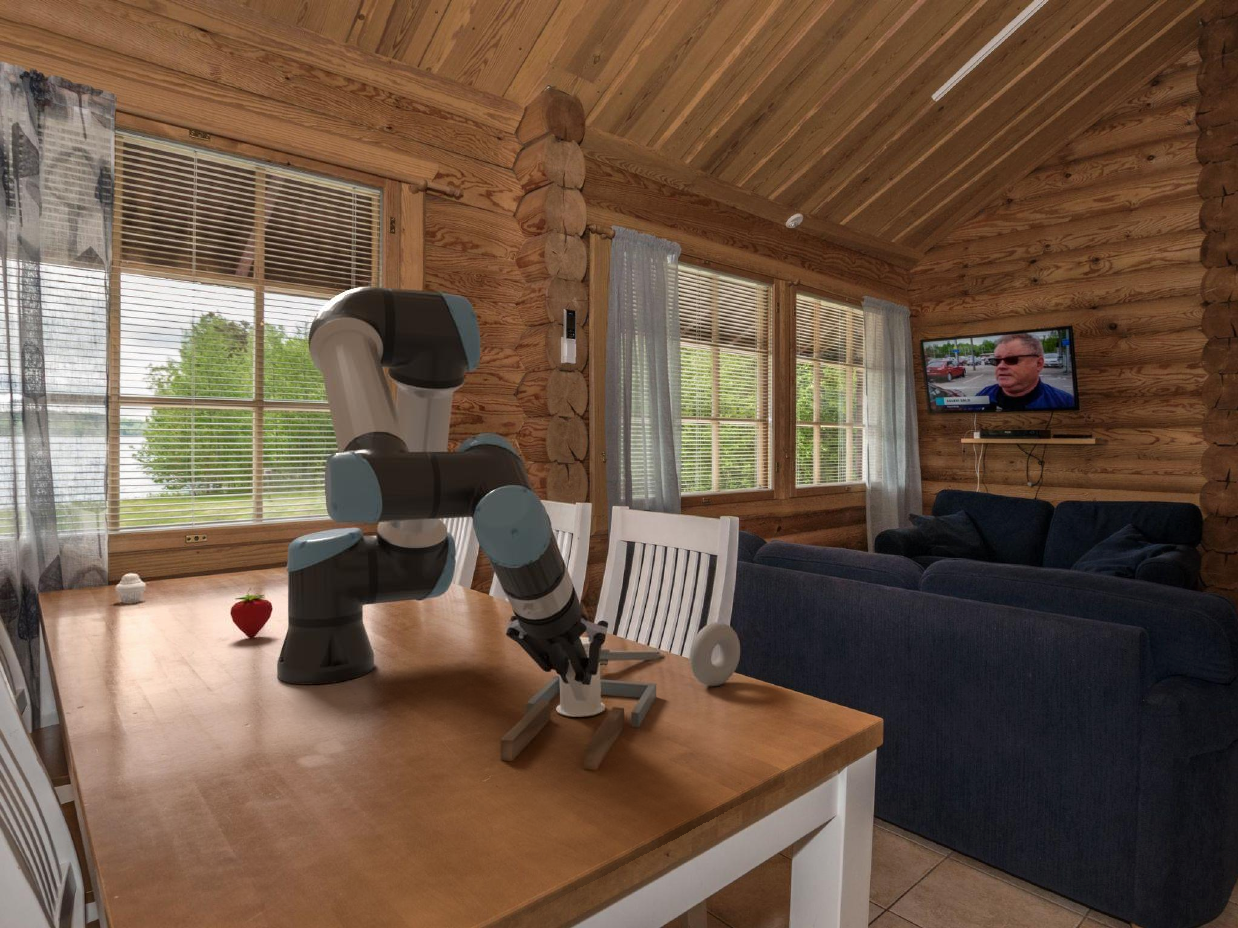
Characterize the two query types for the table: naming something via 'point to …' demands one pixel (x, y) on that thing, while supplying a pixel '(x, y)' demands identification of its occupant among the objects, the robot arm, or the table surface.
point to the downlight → (579, 707)
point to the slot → (540, 717)
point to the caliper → (627, 655)
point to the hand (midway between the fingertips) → (583, 691)
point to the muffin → (130, 588)
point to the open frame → (607, 688)
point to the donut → (703, 653)
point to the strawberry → (251, 614)
